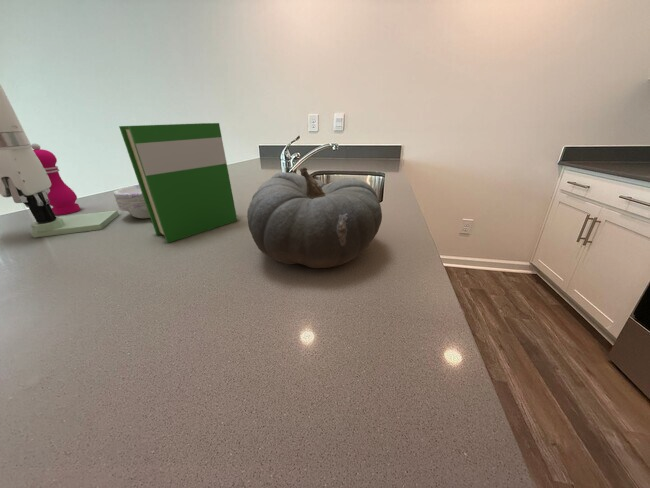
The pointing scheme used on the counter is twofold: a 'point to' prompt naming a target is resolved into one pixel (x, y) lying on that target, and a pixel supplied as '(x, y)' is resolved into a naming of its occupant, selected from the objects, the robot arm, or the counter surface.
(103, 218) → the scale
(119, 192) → the paper bowls
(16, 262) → the counter surface
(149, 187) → the hardback book
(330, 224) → the gourd
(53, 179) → the pepper mill
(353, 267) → the counter surface
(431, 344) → the counter surface
